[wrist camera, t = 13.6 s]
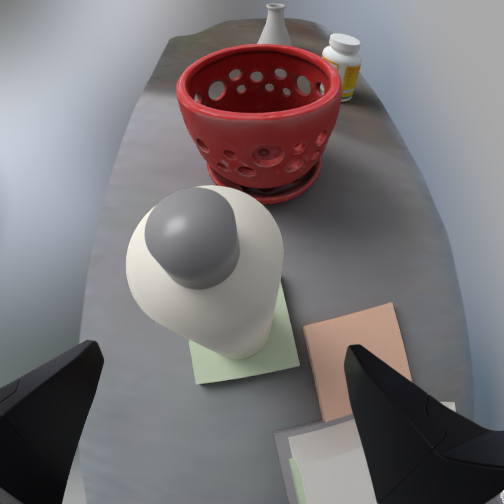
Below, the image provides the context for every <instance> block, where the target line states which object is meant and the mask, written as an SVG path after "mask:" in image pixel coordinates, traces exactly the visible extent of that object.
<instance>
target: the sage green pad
mask: <svg viewBox="0 0 504 504" xmlns="http://www.w3.org/2000/svg"><path fill="white" fill-rule="evenodd" d="M189 344H190V351H191V357H192V363H193V369H194V375H195V380H196V384H203V383H211V382H218V381H225V380H231V379H237V378H243V377H249V376H254V375H260V374H265V373H270V372H275V371H279V370H284V369H288V368H293V367H297V366H300V363H299V359H298V354H297V350H296V345H295V341H294V337H293V332H292V328H291V323H290V319H289V315H288V310H287V306H286V302H285V298H284V293H283V289H282V285H281V281H280V284H279V290H278V295H277V300H276V305H275V310H274V315H273V320H272V325H271V330H270V335H269V338H268V341H267V343H266V344H265V346H264V347H263V348H262V349H261V350H260V351H259V352H258V353H257V354H255V355H253V356H251V357H249V358H245V359H231V358H227V357H225V356H223V355H220V354H218V353H216V352H214V351H212V350H210V349H208V348H205V347H203V346H201V345H199V344H197V343H195V342H193V341H191V340H189Z"/></svg>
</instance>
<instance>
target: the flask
mask: <svg viewBox="0 0 504 504" xmlns="http://www.w3.org/2000/svg"><path fill="white" fill-rule="evenodd" d="M266 6H267V9H268V17H267V22H266V25H265V27H264V30H263V32H262V35H261V37H260V39H259V41H258V44H277V45H286V46H292V44H291V41H290V38H289V35H288V32H287V29H286V26H285V22H284V17H283V12H284V9H285V5H282V4H268V5H266Z"/></svg>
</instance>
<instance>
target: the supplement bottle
mask: <svg viewBox="0 0 504 504" xmlns="http://www.w3.org/2000/svg"><path fill="white" fill-rule="evenodd" d="M329 43H330V46H328V47H326V48H325V49H324V50H323V53H322V58H323V59H325V60H326V61H328V62H329V63H330V64H331V65H332V66H333V67H334V68H335V69H336V70H337V72H338V73H339V75H340V78H341V81H342V95H341V102H345V101H348V100H350V99H351V98H352V96H353V92H354V89H355V85H356V81H357V77H358V73H359V69H360V66H361V57H360V55H359V54H358V53H357V52H358V51H359V49H360V42H359V40H357V39H356V38H354V37H351V36H348V35H344V34H332V35H331V36H330V41H329ZM320 89H321V92H322V94H324V87H323V85H322V84H321V86H320Z"/></svg>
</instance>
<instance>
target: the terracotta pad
mask: <svg viewBox="0 0 504 504" xmlns="http://www.w3.org/2000/svg"><path fill="white" fill-rule="evenodd" d="M302 329H303V333H304V337H305V342H306V346H307V350H308V355H309V359H310V364H311V368H312V373H313V377H314V382H315V386H316V391H317V396H318V400H319V405H320V410H321V415H322V420H323V421H325V422H327V421H331V420H334V419H337V418H340V417H344V416H347V415H350V414H353V412H352V409H351V405H350V400H349V394H348V388H347V383H346V377H345V372H344V360H345V356H346V351H347V348H348V346H349V345H354V344H360V345H362V346H363V347H365V348H366V349H367V350H369V351H370V352H371V353H373V354H374V355H376V356H377V357H378V358H380V359H381V360H382V361H384V362H385V363H386V364H388V365H389V366H391V367H392V368H393V369H395V370H396V371H397V372H399V373H400V374H401V375H403V376H404V377H406V378H407V379H408V380H410V381H411V382H412V380H411V375H410V370H409V366H408V361H407V357H406V353H405V348H404V344H403V340H402V336H401V333H400V329H399V325H398V322H397V318H396V315H395V311H394V308H393V304H392V302H390V303H387V304H384V305H380V306H377V307H374V308H370V309H367V310H363V311H360V312H356V313H353V314H349V315H345V316H342V317H338V318H334V319H330V320H326V321H322V322H318V323H314V324H310V325H305V326H303V328H302Z"/></svg>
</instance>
